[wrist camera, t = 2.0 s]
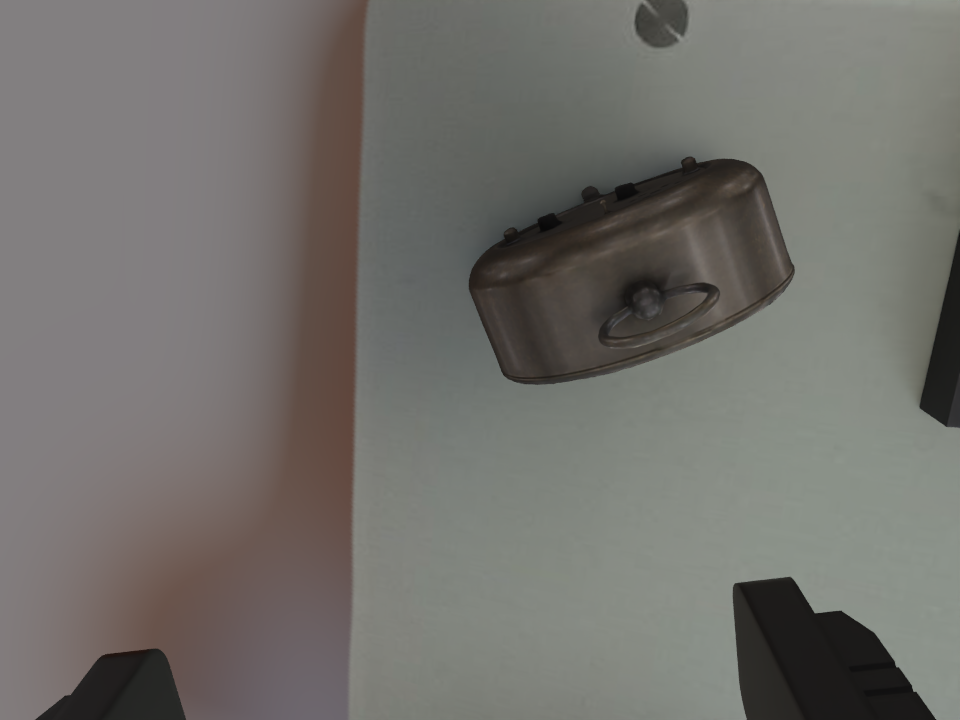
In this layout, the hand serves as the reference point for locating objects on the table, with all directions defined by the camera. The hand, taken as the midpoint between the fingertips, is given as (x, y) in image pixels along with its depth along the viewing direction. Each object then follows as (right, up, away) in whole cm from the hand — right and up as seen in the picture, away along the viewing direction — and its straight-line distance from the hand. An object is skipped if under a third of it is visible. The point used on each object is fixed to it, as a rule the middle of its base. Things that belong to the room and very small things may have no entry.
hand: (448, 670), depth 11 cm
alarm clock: (+6, +10, +24) cm, 27 cm away
